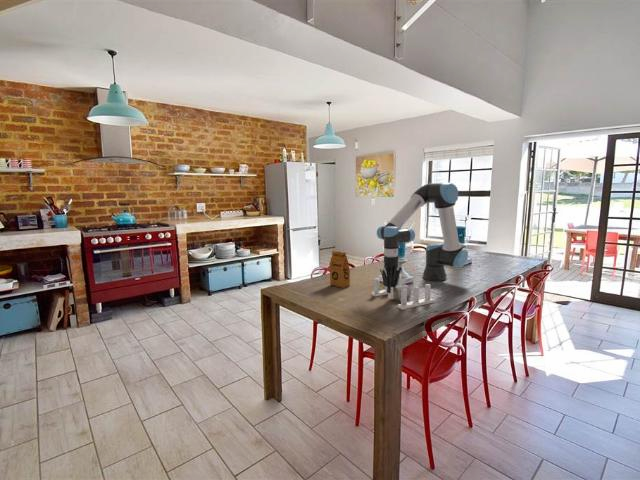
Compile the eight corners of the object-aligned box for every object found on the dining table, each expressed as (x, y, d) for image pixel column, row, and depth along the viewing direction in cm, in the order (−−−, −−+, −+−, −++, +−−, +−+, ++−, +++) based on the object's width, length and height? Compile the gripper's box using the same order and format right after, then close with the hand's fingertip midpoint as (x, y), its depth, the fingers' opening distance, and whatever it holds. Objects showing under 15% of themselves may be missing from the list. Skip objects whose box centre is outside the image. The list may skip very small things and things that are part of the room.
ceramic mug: (391, 297, 182) (391, 284, 181) (404, 296, 184) (404, 282, 183) (400, 304, 172) (400, 290, 171) (414, 302, 174) (414, 288, 173)
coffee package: (341, 289, 199) (340, 254, 195) (327, 285, 208) (327, 251, 205) (352, 286, 205) (352, 251, 202) (339, 282, 214) (338, 249, 211)
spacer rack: (400, 289, 196) (400, 273, 195) (433, 302, 173) (434, 285, 171) (371, 294, 187) (371, 278, 186) (402, 309, 164) (402, 291, 162)
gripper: (385, 258, 167) (385, 302, 171) (405, 255, 173) (404, 298, 176) (376, 255, 174) (376, 298, 177) (396, 253, 179) (395, 294, 183)
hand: (390, 298), depth 177 cm, fingers closed
